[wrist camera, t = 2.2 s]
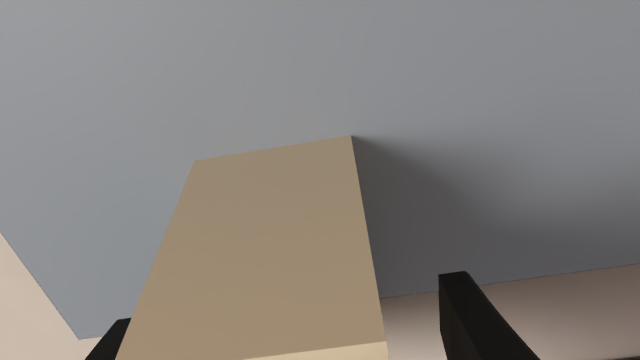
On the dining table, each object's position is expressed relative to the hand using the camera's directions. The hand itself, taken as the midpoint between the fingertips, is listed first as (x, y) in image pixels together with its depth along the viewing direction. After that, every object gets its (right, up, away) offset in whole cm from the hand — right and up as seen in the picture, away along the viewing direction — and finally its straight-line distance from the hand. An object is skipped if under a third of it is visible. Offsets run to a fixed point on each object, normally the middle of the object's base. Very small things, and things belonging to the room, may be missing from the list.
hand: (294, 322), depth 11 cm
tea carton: (0, +1, +2) cm, 3 cm away
